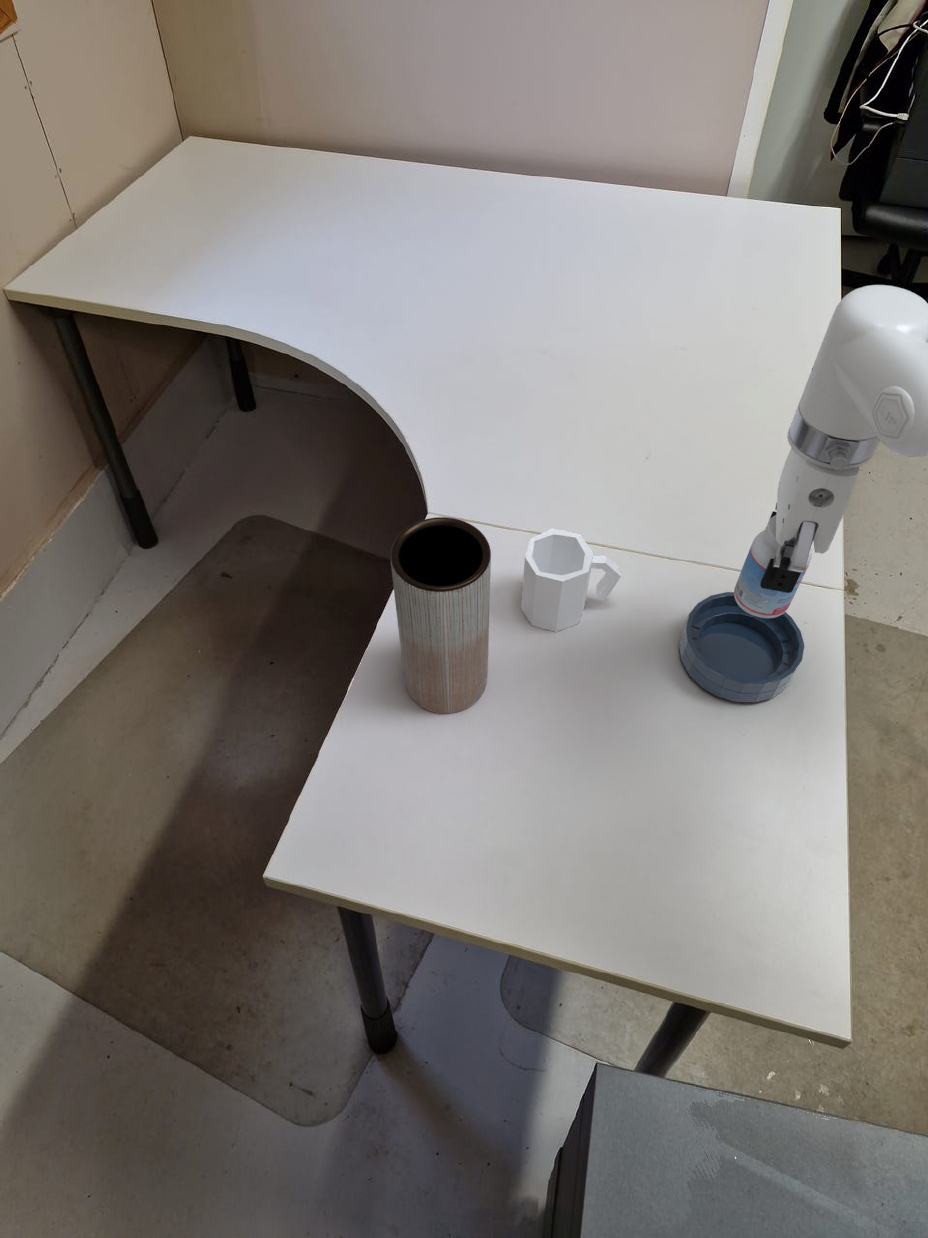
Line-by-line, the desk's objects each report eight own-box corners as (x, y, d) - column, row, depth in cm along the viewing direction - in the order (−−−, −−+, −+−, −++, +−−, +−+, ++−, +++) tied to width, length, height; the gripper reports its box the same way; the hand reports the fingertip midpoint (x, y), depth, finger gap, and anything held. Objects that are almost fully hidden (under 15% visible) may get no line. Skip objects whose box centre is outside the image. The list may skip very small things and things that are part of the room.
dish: (758, 604, 106) (768, 582, 102) (813, 690, 98) (826, 669, 94) (661, 627, 104) (667, 605, 100) (708, 716, 96) (717, 695, 92)
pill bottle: (782, 628, 89) (816, 558, 80) (726, 609, 91) (754, 539, 82) (793, 589, 93) (827, 518, 84) (740, 571, 94) (768, 500, 85)
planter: (391, 700, 97) (373, 574, 79) (423, 636, 103) (413, 505, 85) (470, 725, 95) (470, 602, 77) (498, 659, 101) (504, 529, 83)
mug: (524, 633, 103) (529, 583, 95) (517, 581, 108) (520, 529, 101) (619, 628, 104) (631, 577, 96) (607, 576, 109) (617, 524, 101)
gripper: (885, 503, 67) (812, 634, 81) (875, 378, 77) (812, 514, 92) (790, 487, 68) (735, 620, 83) (793, 366, 79) (744, 503, 93)
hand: (776, 563), depth 87 cm, fingers closed on pill bottle, 6 cm apart
